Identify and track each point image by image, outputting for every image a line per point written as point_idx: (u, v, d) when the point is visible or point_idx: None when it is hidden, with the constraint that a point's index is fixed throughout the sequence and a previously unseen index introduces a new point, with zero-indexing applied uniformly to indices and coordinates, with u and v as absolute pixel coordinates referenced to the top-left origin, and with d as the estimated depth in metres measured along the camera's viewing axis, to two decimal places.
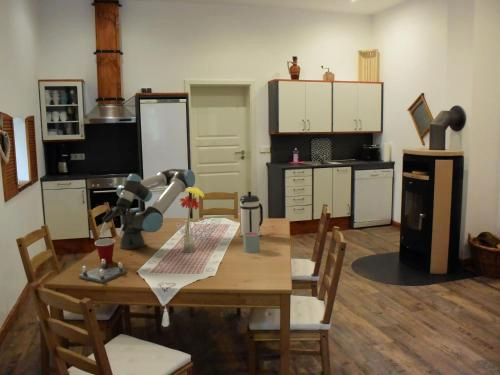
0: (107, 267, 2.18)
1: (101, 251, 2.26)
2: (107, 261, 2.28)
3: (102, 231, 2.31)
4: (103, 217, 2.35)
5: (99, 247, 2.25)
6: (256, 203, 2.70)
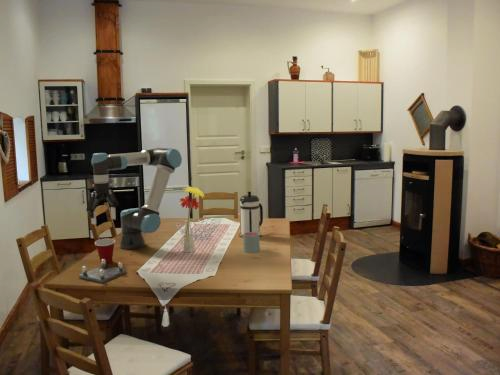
0: (107, 267, 2.18)
1: (101, 251, 2.26)
2: (107, 261, 2.28)
3: (112, 216, 2.33)
4: (114, 201, 2.35)
5: (99, 247, 2.25)
6: (256, 203, 2.70)
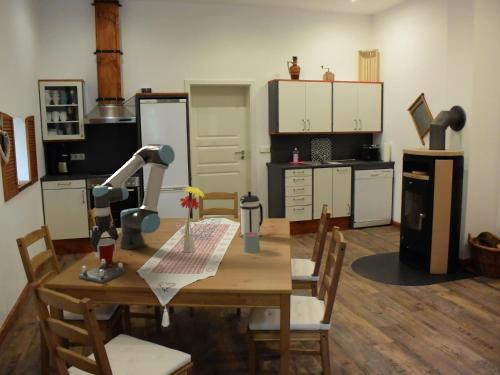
0: (107, 267, 2.18)
1: (101, 251, 2.26)
2: (107, 261, 2.28)
3: None
4: None
5: (99, 247, 2.25)
6: (256, 203, 2.70)
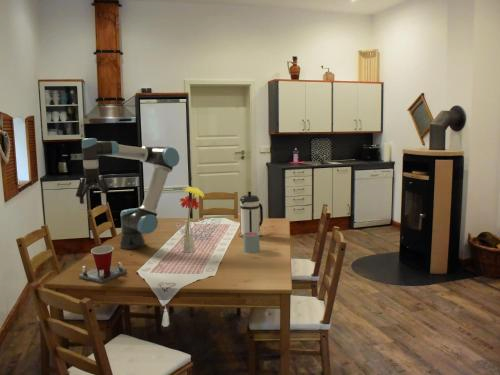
0: None
1: (98, 260, 2.07)
2: (105, 270, 2.09)
3: (102, 202, 2.32)
4: None
5: (96, 255, 2.06)
6: (256, 203, 2.70)
